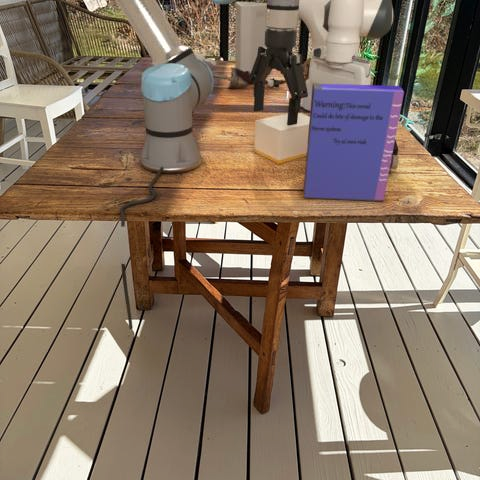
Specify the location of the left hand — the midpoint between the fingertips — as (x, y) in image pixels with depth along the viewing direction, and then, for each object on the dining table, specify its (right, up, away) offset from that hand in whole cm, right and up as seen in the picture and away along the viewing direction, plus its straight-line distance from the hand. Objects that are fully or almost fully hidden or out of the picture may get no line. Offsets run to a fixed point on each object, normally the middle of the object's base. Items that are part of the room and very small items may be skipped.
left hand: (274, 117), depth 124 cm
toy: (-35, +50, +102) cm, 119 cm away
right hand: (+18, +6, +11) cm, 22 cm away
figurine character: (+27, -13, -1) cm, 30 cm away
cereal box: (+14, -22, -16) cm, 30 cm away
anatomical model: (+22, +38, +84) cm, 95 cm away
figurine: (-6, +29, +68) cm, 75 cm away
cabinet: (+4, -8, +7) cm, 11 cm away
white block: (-3, +45, +94) cm, 104 cm away
